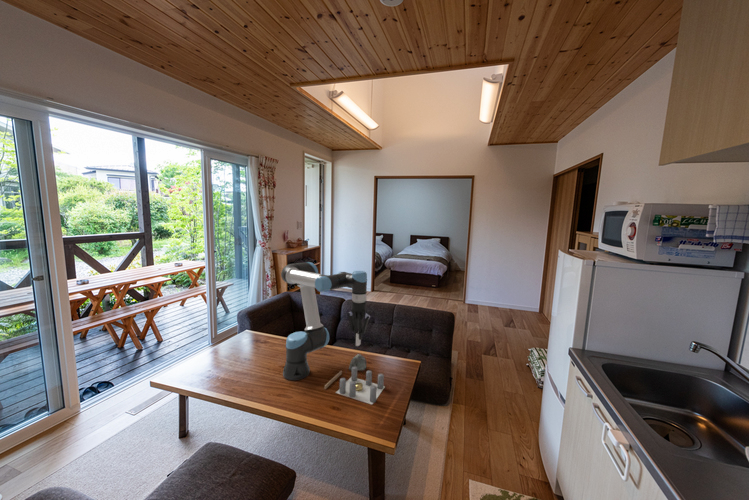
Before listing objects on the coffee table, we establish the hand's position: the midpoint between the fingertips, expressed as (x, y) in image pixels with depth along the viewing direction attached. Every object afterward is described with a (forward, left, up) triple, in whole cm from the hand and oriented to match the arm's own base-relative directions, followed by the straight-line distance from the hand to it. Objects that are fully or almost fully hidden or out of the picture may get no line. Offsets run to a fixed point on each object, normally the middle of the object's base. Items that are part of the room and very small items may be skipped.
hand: (358, 344), depth 150 cm
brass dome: (+1, 0, -25) cm, 25 cm away
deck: (-1, 0, -26) cm, 26 cm away
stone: (-9, +20, -26) cm, 34 cm away
